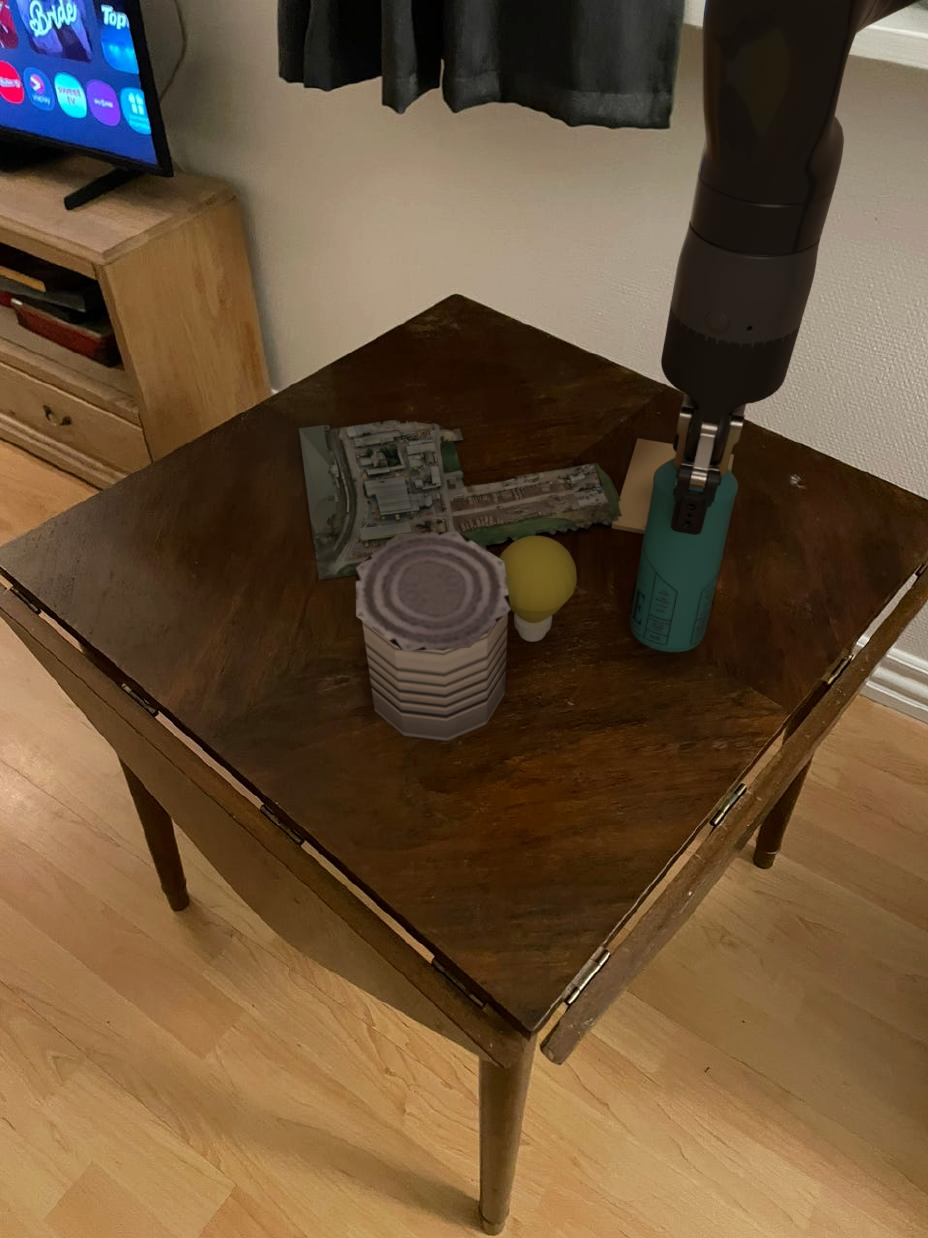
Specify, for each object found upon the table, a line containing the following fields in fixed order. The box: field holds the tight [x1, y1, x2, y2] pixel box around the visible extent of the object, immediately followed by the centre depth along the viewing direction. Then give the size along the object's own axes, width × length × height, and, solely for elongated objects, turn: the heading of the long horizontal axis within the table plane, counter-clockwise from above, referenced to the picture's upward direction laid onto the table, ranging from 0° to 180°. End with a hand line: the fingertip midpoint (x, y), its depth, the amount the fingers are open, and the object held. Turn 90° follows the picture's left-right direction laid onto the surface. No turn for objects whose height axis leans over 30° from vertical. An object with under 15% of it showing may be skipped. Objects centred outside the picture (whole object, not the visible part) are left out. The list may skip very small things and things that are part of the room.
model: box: [298, 419, 622, 581], centre depth 93 cm, size 21×30×2 cm
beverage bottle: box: [628, 432, 739, 653], centre depth 73 cm, size 6×7×20 cm
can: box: [355, 532, 512, 742], centre depth 72 cm, size 11×11×12 cm
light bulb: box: [498, 535, 578, 642], centre depth 77 cm, size 7×7×10 cm
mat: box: [611, 437, 735, 535], centre depth 93 cm, size 10×14×1 cm
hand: (686, 526), depth 67 cm, fingers closed
